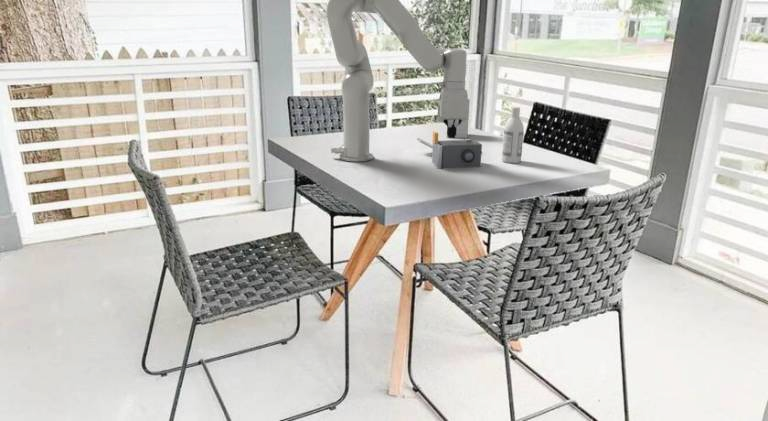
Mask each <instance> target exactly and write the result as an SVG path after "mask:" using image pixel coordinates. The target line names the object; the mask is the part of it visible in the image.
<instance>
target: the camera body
mask: <svg viewBox="0 0 768 421" xmlns="http://www.w3.org/2000/svg"><path fill="white" fill-rule="evenodd" d="M438 144H439V145H441V146H442V167H441V169H451V168H452V169H453V168H456V169H457V168H480V167H481V164H482V153H481V151H483V150H482V148H483V144H482V143H480V142H479V141H477V140H476V139H471V138H464V139H456V140H455V139H454V140H453V139H452V140H448V139H447V140H438Z"/></svg>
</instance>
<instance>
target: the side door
mask: <svg viewBox="0 0 768 421" xmlns="http://www.w3.org/2000/svg"><path fill="white" fill-rule="evenodd" d="M438 141H439V132H437V131H432V145H433V148H432V151H431V153H432V154H431V155H432V156H431V162H432V163H433V164H434V165H435V166H436V167H437V169H439V170H441V169H442V146H441V145H439V144H438Z"/></svg>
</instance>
